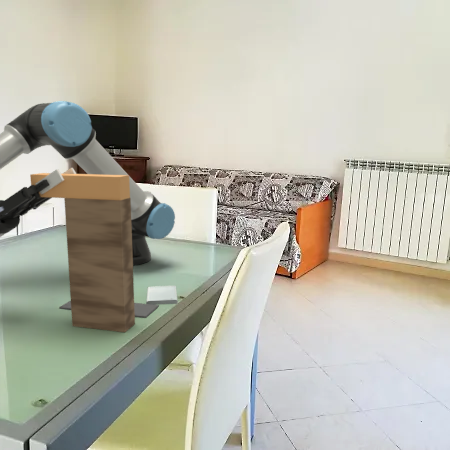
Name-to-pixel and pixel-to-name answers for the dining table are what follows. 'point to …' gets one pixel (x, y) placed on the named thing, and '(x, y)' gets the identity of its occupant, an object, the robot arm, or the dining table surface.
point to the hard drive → (161, 295)
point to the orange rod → (88, 186)
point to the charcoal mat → (139, 309)
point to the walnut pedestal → (100, 263)
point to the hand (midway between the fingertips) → (67, 174)
